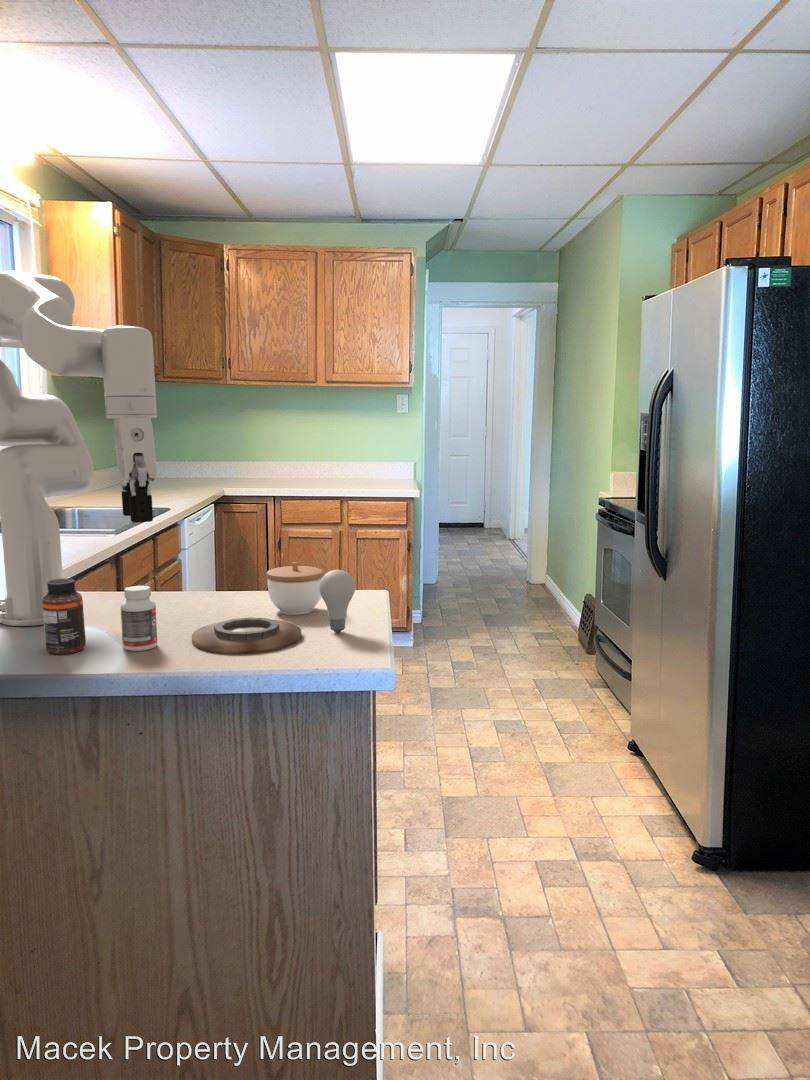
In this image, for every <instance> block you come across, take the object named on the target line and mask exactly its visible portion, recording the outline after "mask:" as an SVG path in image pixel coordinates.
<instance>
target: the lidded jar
mask: <svg viewBox="0 0 810 1080" xmlns="http://www.w3.org/2000/svg"><path fill="white" fill-rule="evenodd" d="M291 563H292V565H291V566H290V565H289V566H288V565H287V566H279V567H274V568H271V569H269V570H268V569H267V571H266V578H267V579H266V580H267V590H268V591H267V592H268V595H269V599H270V601H271V603H272V604H273V606H274V607H276V608H277V609H278V610H279V612H280V613H281V614H284V615H290V616H291V615H292V616H295V615H296V616H297V615H299V616H300V615H306V614H309V613H311V612H313V609H314V608H315V607H316V606H317V605H318V604H319V602H320V600H321V598H322V596H321V594H320V591H319V584H320V581H321V579H322V577H323V576H324V575H325V574H324V573H325V572H324V569H322V568H319V567H315V566H310V565H309V566H306V565H299V562H297V561H294V562H291Z"/></svg>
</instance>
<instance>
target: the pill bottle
mask: <svg viewBox="0 0 810 1080" xmlns="http://www.w3.org/2000/svg"><path fill="white" fill-rule="evenodd" d="M151 591H152V590H151V586H149V585H148V586H147V585H134V586H133V585H131V586H129V587H128V586H127V587H125V588H124V595H123V596H124V599H125V601H123V602H121V604H120V622H121V623H120V624H121V639H122V640H121V641H122V644H121V645H122V648H123V649H124V650H126V651H131V652H141V651H148V650H151V649H154V648H155V647H157V646H158V630H157V629H158V627H157V607H156V606H157V605H156V603H155V601H154V600H152V599H150V597H151V595H152V592H151Z"/></svg>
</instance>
